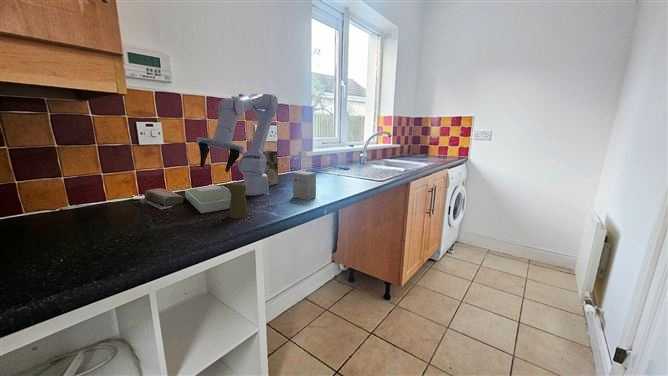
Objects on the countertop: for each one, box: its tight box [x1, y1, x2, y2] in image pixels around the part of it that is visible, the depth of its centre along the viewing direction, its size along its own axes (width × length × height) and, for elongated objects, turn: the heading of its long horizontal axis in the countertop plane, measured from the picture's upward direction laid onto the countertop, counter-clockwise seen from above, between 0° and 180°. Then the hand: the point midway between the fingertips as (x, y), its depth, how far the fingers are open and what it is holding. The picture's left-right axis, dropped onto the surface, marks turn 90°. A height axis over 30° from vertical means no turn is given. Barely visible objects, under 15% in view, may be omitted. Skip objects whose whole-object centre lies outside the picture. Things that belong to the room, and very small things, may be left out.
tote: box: [184, 185, 231, 214], centre depth 102 cm, size 14×22×4 cm, turn 39°
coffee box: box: [262, 150, 279, 187], centre depth 134 cm, size 9×6×16 cm
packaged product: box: [139, 187, 185, 210], centre depth 100 cm, size 18×5×10 cm
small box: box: [292, 170, 317, 201], centre depth 114 cm, size 8×6×10 cm
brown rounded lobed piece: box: [228, 181, 249, 220], centre depth 90 cm, size 6×6×11 cm
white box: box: [194, 185, 223, 202], centre depth 105 cm, size 8×6×4 cm
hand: (214, 169), depth 89 cm, fingers open, 7 cm apart
